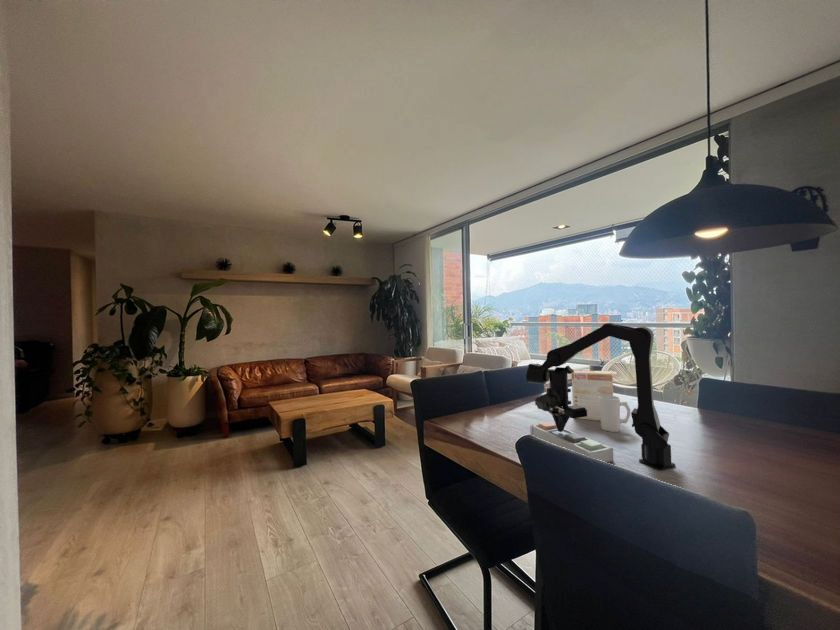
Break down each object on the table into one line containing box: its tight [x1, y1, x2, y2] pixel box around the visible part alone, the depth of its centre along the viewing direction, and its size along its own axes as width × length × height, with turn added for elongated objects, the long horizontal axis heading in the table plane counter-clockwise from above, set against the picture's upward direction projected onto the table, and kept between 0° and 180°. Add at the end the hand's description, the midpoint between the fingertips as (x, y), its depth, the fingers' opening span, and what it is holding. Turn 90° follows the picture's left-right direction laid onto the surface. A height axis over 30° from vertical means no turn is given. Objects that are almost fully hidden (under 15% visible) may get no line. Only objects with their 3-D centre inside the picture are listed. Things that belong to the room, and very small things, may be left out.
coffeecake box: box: [571, 369, 614, 422], centre depth 143 cm, size 15×7×20 cm, turn 59°
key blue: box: [551, 431, 569, 437], centre depth 116 cm, size 4×4×2 cm
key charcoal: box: [565, 432, 586, 444], centre depth 110 cm, size 4×4×2 cm
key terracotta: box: [538, 421, 556, 431], centre depth 123 cm, size 4×4×2 cm
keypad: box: [529, 421, 614, 463], centre depth 113 cm, size 27×9×4 cm, turn 19°
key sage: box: [580, 438, 603, 451], centre depth 104 cm, size 4×4×2 cm
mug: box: [599, 395, 631, 433], centre depth 129 cm, size 10×7×12 cm, turn 60°
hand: (560, 431), depth 116 cm, fingers closed
